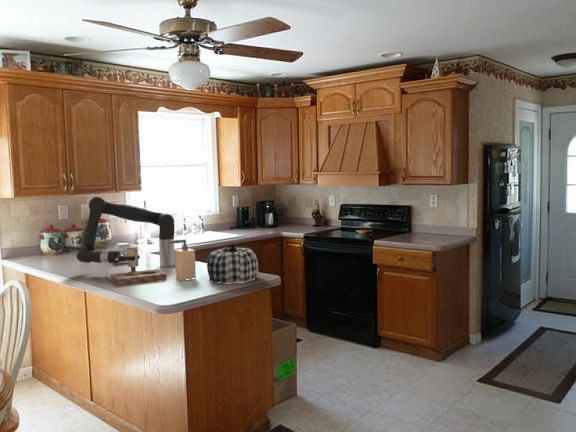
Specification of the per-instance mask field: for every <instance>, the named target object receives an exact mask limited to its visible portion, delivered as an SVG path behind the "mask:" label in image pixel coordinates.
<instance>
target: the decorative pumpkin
mask: <svg viewBox="0 0 576 432" xmlns="http://www.w3.org/2000/svg"><path fill="white" fill-rule="evenodd" d="M258 261H259V260H258V258H257V255H256V253H255V252H254V250H252V249H251V248H248V247H239V246H234V244H230V247H222V248H220V249H215V250H213V251H211V252H210V253H209V255H208V257H207V260H206V270H207V275H208V278H209V281H210V280H211V281H213V282H221V283H234V282H246V281H249V280H252V279H255V278H256V279H257V278H258V275H259V263H258ZM211 281H210V282H211Z"/></svg>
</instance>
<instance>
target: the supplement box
mask: <svg viewBox="0 0 576 432" xmlns="http://www.w3.org/2000/svg"><path fill="white" fill-rule="evenodd" d="M128 247H131V244H130V243H128V242H120V243H119V242H118V243H115V251H119V252H120V254H127V248H128ZM126 263H127V261H120V262H119V263H118V264H126ZM127 264H128V263H127Z"/></svg>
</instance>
